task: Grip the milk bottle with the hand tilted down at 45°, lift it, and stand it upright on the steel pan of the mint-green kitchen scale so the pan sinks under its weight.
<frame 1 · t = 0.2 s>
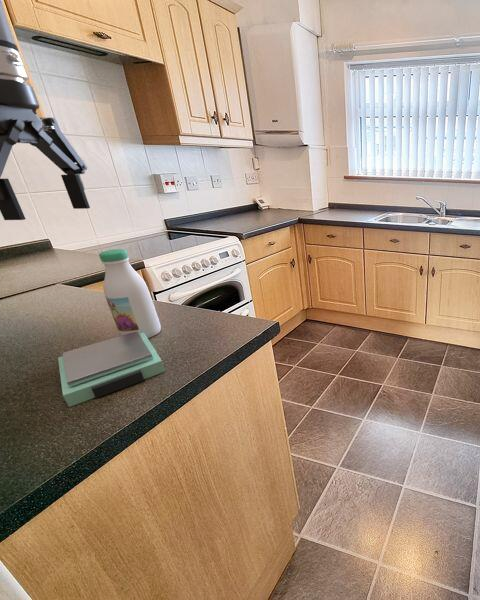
hand: (52, 213, 63), 29 cm above the table, tool pointing down, fingers open, 13 cm apart
scale: (113, 369, 66), on the table
milk bottle: (142, 334, 79), on the table
scale pan: (107, 355, 65), point 3 cm above the table, slide at 0.0 cm
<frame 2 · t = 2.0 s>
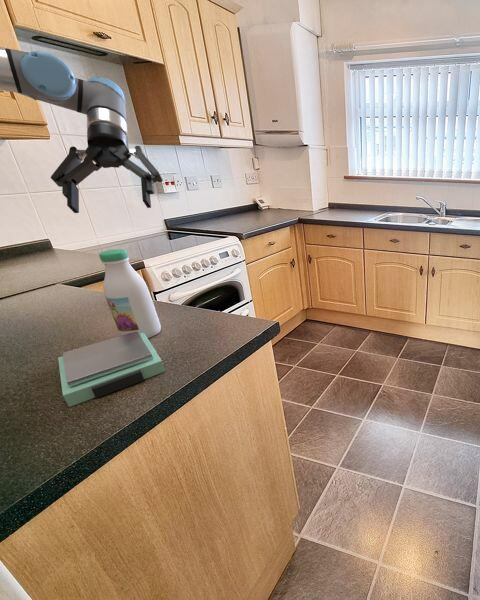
hand: (111, 206, 75), 28 cm above the table, tool tilted 45°, fingers open, 13 cm apart
nothing on the table moved.
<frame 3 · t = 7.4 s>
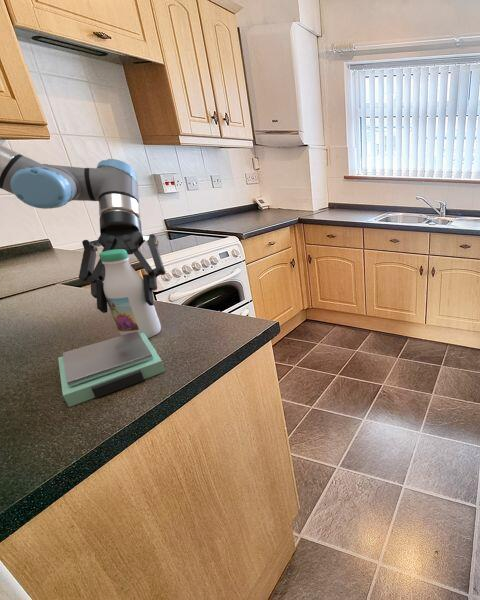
hand: (126, 306, 73), 9 cm above the table, tool tilted 45°, fingers closed on milk bottle, 8 cm apart
milk bottle: (142, 334, 79), on the table, touching gripper
everything else where it was.
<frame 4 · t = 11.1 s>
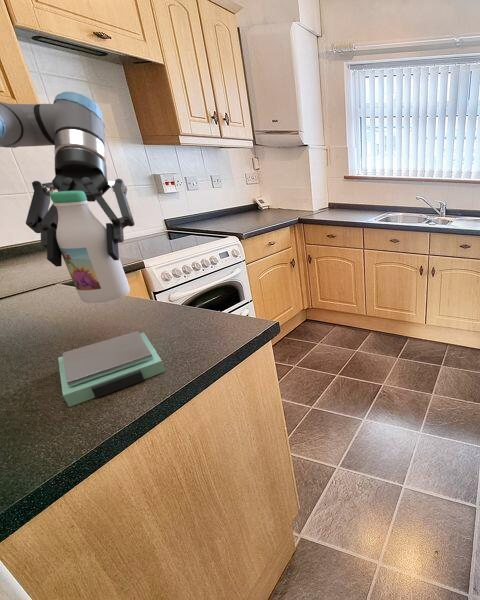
hand: (84, 259, 61), 21 cm above the table, tool tilted 45°, fingers closed on milk bottle, 8 cm apart
milk bottle: (107, 297, 67), point 13 cm above the table, touching gripper
everything else where it was.
when the fingers open (12 cm above the table, at t = 15.0 s): milk bottle stays where it is, resting on scale pan.
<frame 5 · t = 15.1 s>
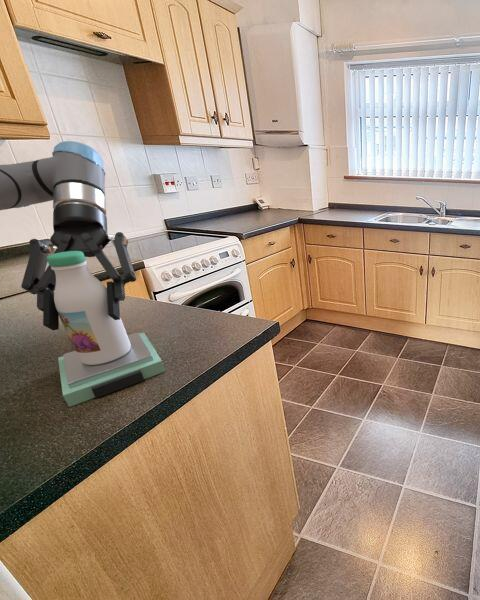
hand: (83, 322, 58), 12 cm above the table, tool tilted 45°, fingers open, 8 cm apart
milk bottle: (107, 355, 65), point 3 cm above the table, touching scale pan
scale pan: (108, 356, 65), point 3 cm above the table, slide at -0.3 cm, touching milk bottle, scale
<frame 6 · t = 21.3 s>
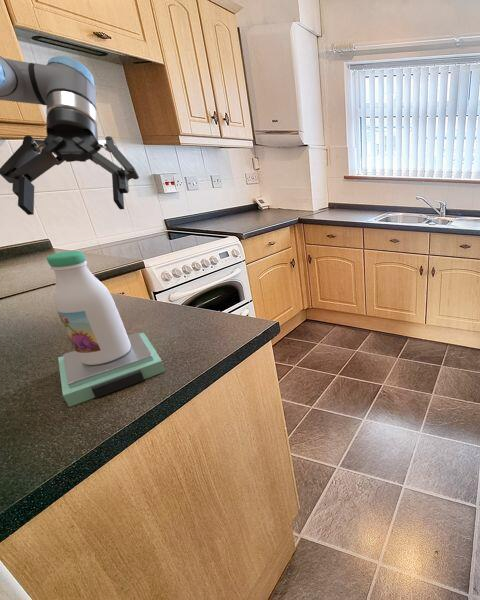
hand: (74, 207, 63), 30 cm above the table, tool tilted 45°, fingers open, 13 cm apart
nothing on the table moved.
at the end: milk bottle inside the target area on the scale (0.1 cm from its centre), point 3.3 cm above the scale's base; milk bottle tilted 0°; the gripper is holding nothing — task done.
